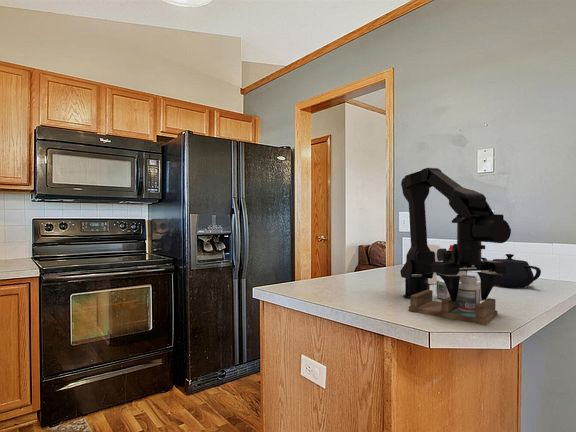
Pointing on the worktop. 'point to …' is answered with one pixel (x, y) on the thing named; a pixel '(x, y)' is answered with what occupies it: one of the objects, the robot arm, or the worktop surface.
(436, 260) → the cup
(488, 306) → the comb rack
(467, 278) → the pill bottle
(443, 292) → the syrup box
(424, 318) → the worktop surface
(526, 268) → the teapot
